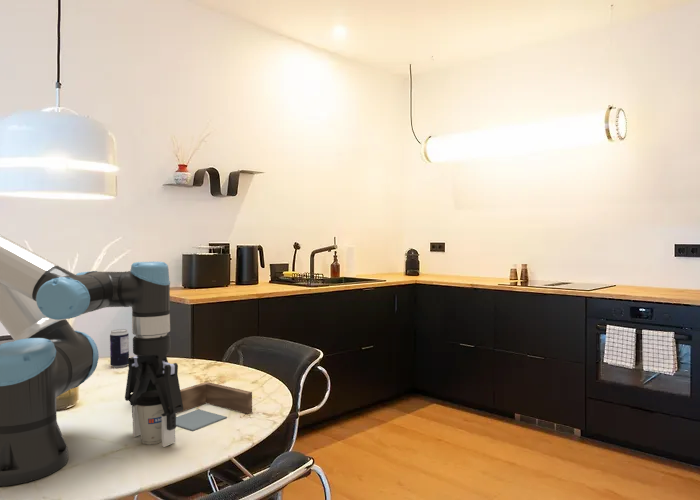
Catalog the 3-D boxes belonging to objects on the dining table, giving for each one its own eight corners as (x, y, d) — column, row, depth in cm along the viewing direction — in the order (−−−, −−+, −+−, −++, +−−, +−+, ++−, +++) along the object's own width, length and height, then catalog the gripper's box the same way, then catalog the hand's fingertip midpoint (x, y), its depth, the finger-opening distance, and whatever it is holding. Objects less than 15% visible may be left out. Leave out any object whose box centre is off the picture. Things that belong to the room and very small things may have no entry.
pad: (192, 431, 118) (192, 429, 118) (164, 422, 123) (164, 421, 123) (226, 418, 126) (226, 416, 126) (198, 410, 132) (198, 409, 132)
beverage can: (126, 363, 180) (125, 328, 180) (131, 366, 176) (130, 330, 175) (108, 366, 176) (107, 330, 176) (113, 369, 172) (112, 332, 172)
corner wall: (183, 439, 113) (183, 416, 113) (137, 424, 122) (136, 402, 122) (252, 412, 130) (252, 392, 130) (206, 400, 139) (206, 381, 139)
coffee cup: (129, 440, 113) (128, 394, 112) (160, 431, 118) (159, 387, 117) (145, 449, 108) (145, 401, 108) (176, 439, 113) (176, 393, 113)
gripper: (200, 336, 109) (202, 444, 110) (136, 327, 121) (138, 423, 122) (169, 343, 103) (172, 457, 104) (105, 332, 115) (107, 434, 116)
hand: (153, 439), depth 113 cm, fingers open, 9 cm apart
